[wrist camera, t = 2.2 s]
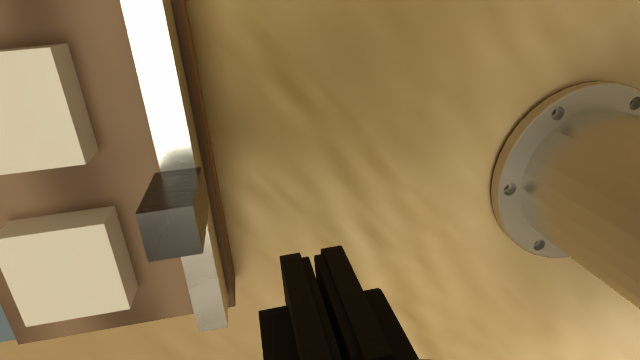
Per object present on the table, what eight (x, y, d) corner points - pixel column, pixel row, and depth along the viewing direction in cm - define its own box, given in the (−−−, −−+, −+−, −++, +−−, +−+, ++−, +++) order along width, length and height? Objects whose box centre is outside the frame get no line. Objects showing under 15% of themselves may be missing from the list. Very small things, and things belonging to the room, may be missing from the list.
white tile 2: (114, 205, 22) (103, 223, 20) (137, 286, 24) (130, 309, 22) (9, 220, 21) (-12, 240, 20) (42, 301, 23) (25, 326, 22)
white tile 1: (67, 43, 19) (49, 47, 17) (98, 150, 21) (85, 164, 19) (-58, 54, 18) (-90, 59, 17) (-14, 164, 20) (-38, 180, 18)
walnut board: (180, -24, 21) (172, -28, 19) (235, 277, 28) (235, 306, 26) (-88, -5, 20) (-139, -6, 17) (40, 309, 27) (18, 344, 24)
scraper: (175, -4, 19) (148, -7, 13) (232, 296, 25) (231, 389, 19) (127, 0, 18) (76, -1, 12) (197, 302, 25) (185, 398, 19)
